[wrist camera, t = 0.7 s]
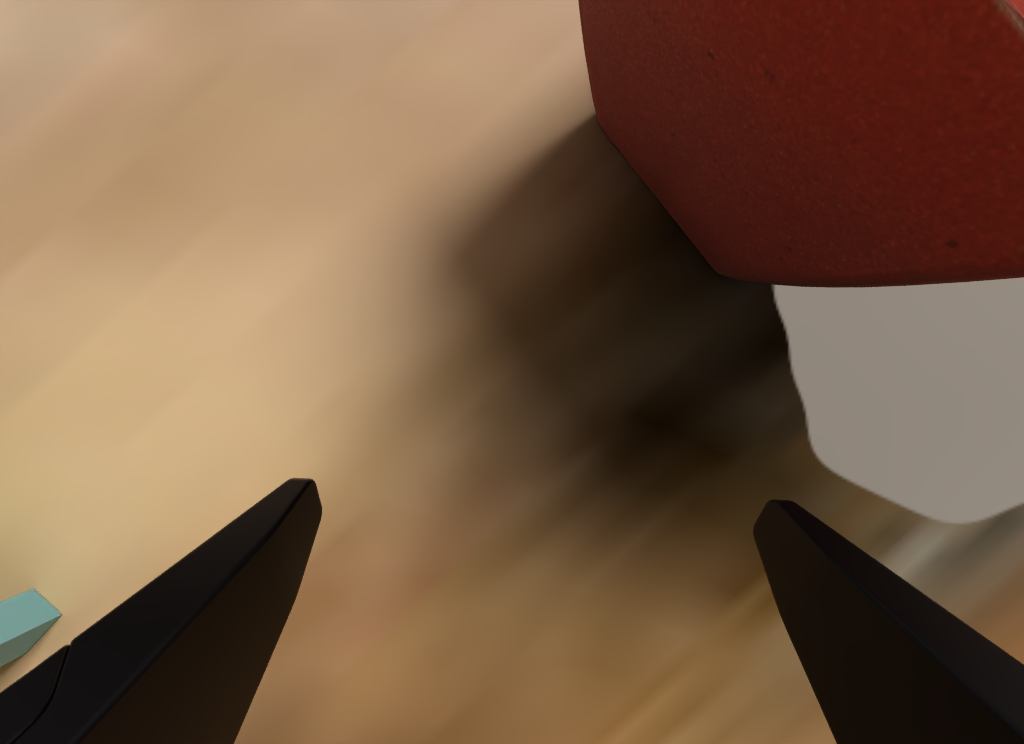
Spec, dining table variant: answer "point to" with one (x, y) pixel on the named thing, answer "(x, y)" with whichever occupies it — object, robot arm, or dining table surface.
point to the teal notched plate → (23, 623)
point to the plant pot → (823, 132)
